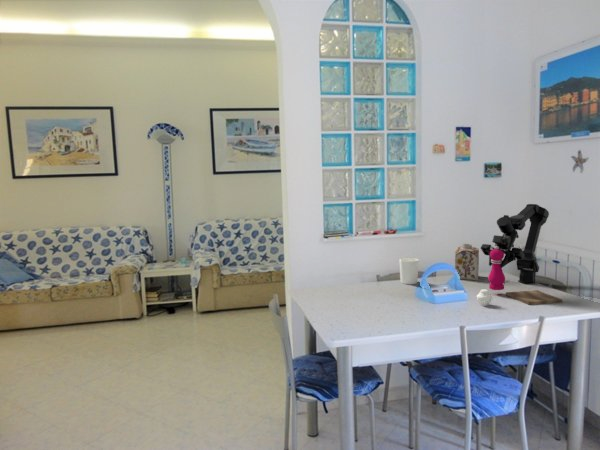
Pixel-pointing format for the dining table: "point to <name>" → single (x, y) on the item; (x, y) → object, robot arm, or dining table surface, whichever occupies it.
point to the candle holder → (408, 270)
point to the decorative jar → (467, 262)
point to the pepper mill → (496, 270)
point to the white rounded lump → (484, 297)
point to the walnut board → (534, 297)
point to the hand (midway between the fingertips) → (495, 266)
